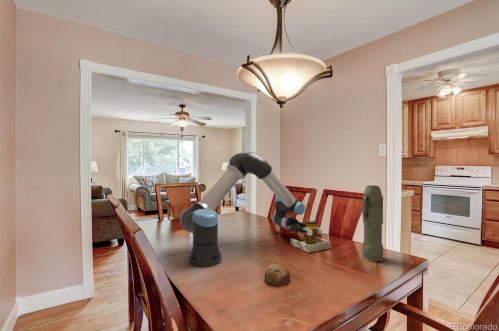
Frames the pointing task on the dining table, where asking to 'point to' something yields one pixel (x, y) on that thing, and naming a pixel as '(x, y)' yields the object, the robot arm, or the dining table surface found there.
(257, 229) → the dining table surface
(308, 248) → the u rest
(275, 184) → the robot arm
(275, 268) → the bread roll
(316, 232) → the condiment
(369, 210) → the thermos
